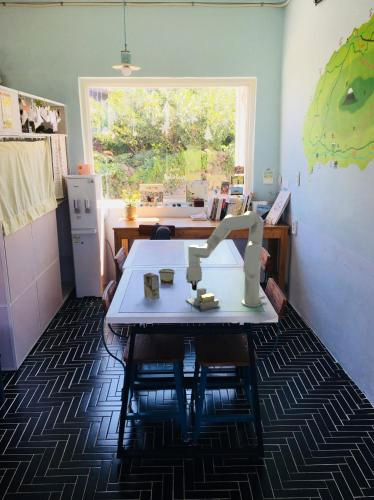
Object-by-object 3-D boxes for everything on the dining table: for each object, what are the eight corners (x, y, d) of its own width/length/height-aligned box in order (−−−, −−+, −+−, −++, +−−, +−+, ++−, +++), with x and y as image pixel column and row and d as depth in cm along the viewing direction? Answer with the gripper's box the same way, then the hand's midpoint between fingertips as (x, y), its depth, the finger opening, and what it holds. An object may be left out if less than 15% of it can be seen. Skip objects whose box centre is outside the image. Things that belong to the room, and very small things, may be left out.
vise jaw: (208, 299, 272) (208, 286, 269) (213, 302, 267) (213, 289, 264) (192, 303, 266) (192, 289, 264) (197, 306, 261) (197, 292, 259)
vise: (204, 296, 279) (204, 290, 278) (219, 307, 262) (219, 299, 261) (185, 300, 273) (185, 293, 272) (200, 311, 256) (200, 304, 255)
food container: (177, 281, 309) (176, 269, 306) (174, 284, 303) (174, 271, 301) (161, 280, 312) (161, 268, 310) (158, 283, 307) (158, 270, 304)
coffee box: (159, 297, 279) (159, 275, 275) (152, 300, 275) (151, 277, 270) (151, 294, 285) (150, 272, 281) (143, 297, 281) (142, 274, 277)
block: (211, 303, 266) (211, 293, 264) (214, 305, 262) (214, 295, 260) (200, 305, 262) (200, 295, 260) (203, 308, 259) (203, 297, 257)
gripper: (201, 260, 276) (201, 286, 281) (181, 263, 270) (181, 290, 275) (206, 263, 270) (206, 289, 275) (186, 266, 263) (187, 293, 268)
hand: (194, 289), depth 275 cm, fingers closed
